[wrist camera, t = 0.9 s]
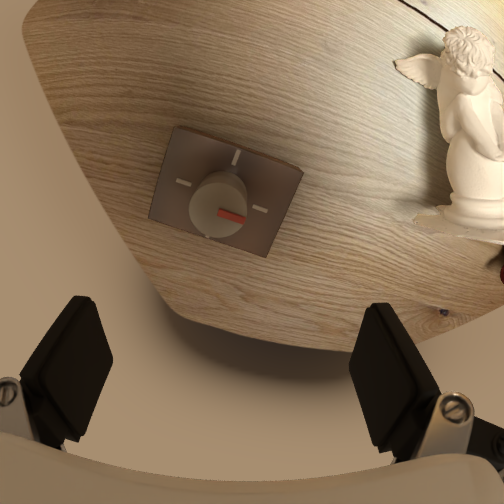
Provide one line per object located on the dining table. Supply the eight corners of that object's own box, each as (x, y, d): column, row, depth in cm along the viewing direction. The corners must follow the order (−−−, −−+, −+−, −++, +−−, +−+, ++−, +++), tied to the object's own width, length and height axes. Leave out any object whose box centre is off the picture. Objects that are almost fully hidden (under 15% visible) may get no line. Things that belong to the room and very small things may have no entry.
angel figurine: (400, 45, 25) (493, 39, 17) (426, 204, 32) (516, 210, 23) (358, 11, 16) (497, -5, 8) (399, 244, 23) (532, 257, 15)
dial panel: (154, 210, 29) (147, 219, 27) (180, 125, 26) (173, 126, 23) (264, 247, 31) (266, 259, 29) (299, 167, 28) (304, 172, 25)
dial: (191, 209, 27) (181, 229, 22) (206, 164, 25) (198, 175, 21) (237, 224, 27) (235, 247, 23) (254, 180, 26) (256, 195, 21)
